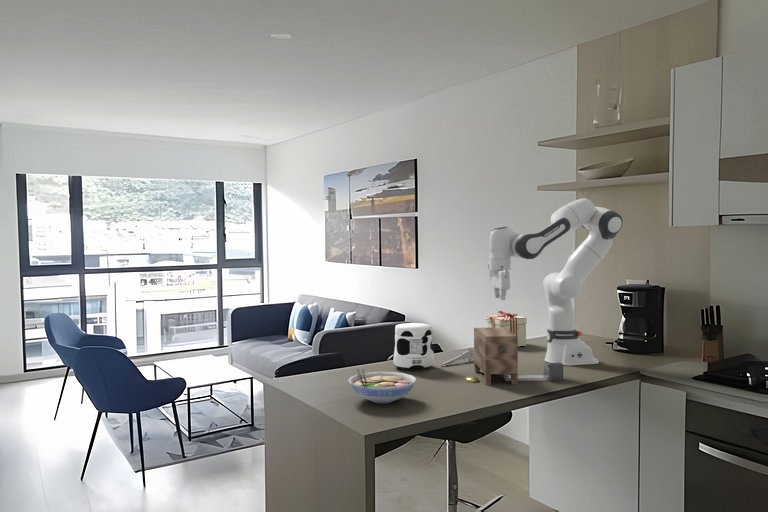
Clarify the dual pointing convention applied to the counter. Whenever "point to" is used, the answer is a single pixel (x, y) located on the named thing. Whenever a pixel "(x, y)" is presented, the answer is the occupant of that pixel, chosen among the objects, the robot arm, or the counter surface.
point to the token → (472, 379)
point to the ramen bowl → (382, 386)
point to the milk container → (413, 346)
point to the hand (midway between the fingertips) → (500, 299)
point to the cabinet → (496, 353)
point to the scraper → (550, 373)
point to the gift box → (510, 324)
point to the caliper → (462, 356)
